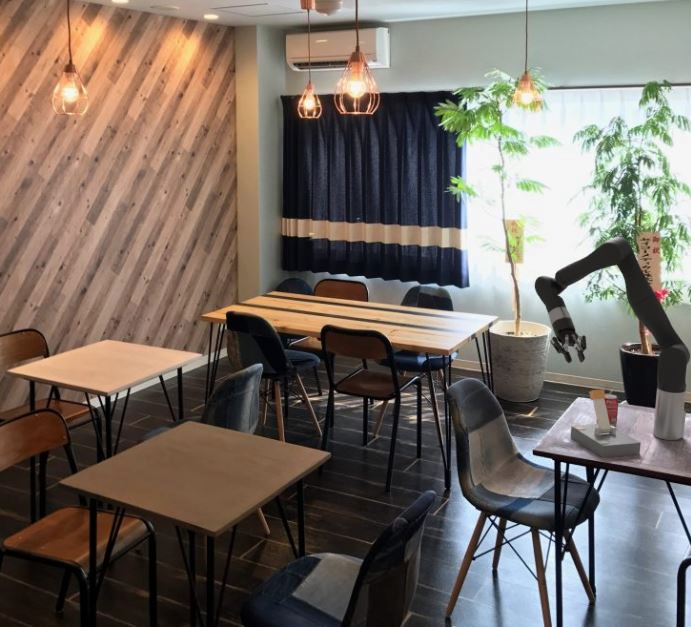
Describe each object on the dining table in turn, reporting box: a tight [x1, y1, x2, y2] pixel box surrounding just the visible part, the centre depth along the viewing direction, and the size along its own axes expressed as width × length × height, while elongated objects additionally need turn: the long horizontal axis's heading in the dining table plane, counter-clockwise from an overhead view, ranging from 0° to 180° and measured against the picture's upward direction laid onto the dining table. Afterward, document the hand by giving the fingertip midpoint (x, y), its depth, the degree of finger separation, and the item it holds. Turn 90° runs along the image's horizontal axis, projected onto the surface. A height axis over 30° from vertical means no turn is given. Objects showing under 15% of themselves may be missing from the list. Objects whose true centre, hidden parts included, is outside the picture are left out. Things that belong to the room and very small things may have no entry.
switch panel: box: [570, 423, 642, 458], centre depth 274 cm, size 14×20×6 cm
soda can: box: [596, 393, 619, 428], centre depth 292 cm, size 7×7×12 cm
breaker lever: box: [588, 389, 611, 433], centre depth 276 cm, size 4×2×15 cm, turn 105°
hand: (576, 361), depth 290 cm, fingers open, 4 cm apart
